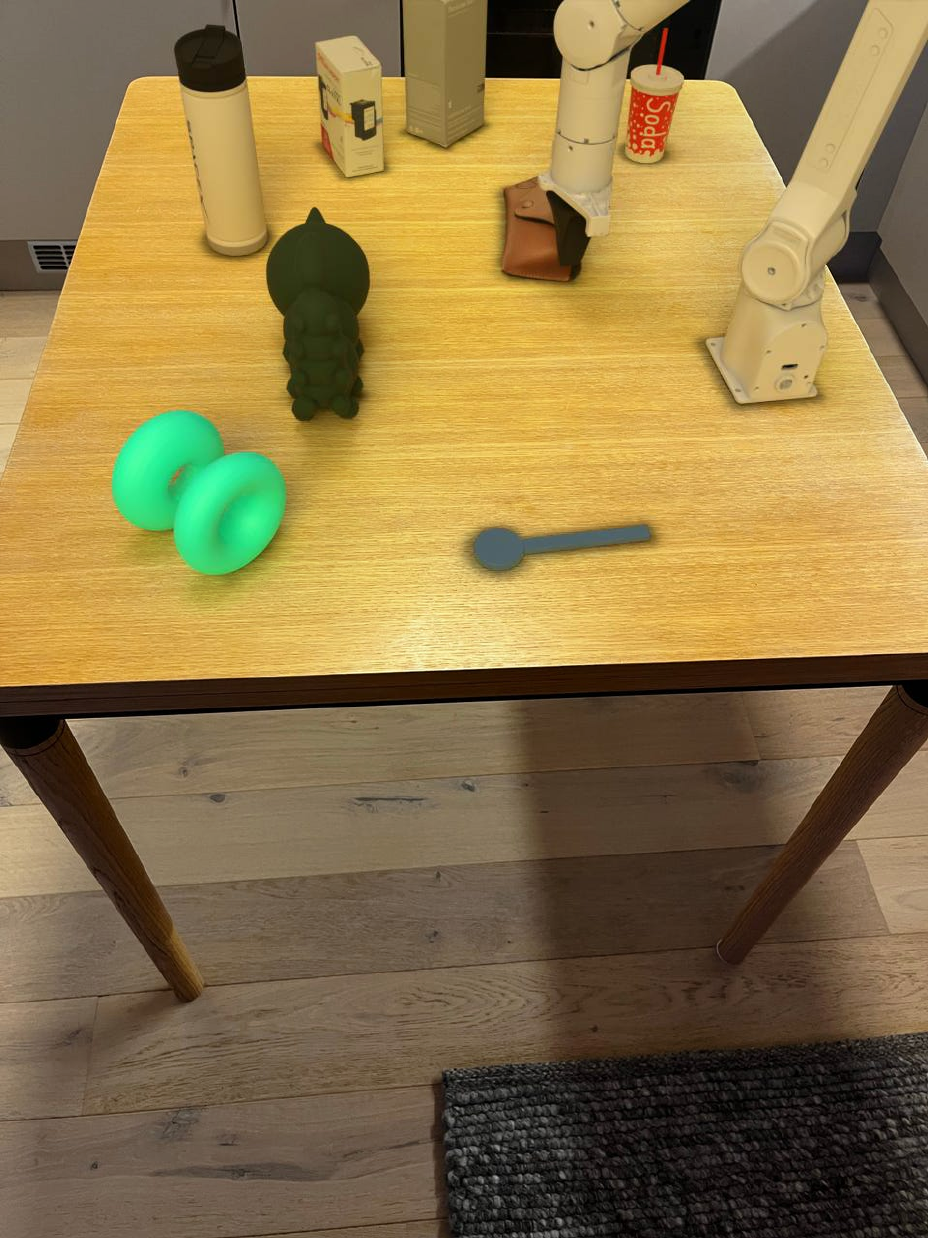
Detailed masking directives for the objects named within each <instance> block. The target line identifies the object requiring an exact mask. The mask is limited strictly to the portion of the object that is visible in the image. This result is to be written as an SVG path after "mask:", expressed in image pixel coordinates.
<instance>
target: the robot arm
mask: <svg viewBox="0 0 928 1238" xmlns="http://www.w3.org/2000/svg"><path fill="white" fill-rule="evenodd" d="M690 1H691V0H563V1H562V2H561V3H560V5H559V6H558V8H557V10H556V12H555V15H554V19H553V37H554V41H555V44H556V47H557V49H558V51H559V52H560V54H561V56H562V62H561V72H560V81H559V88H558V100H557V107H556V108H557V109H556V117H555V118H556V119H555V128H554V129H555V130H554V139H552V143H551V150H550V152H551V153H550V160H551V161H550V165H549V169H548V171H547V172H540V173H539V174H537V176H538V184H539V186H540V188H541V189H542V190H548V191H547V192H546V197H547V199H548V201H549V204H550V207H551V211H552V215H553V219H554V224H555V232H556V243H557V253H558V260H559V263H560V266H572V265H579V264H580V263H582V260H583V259H584V256H585V253H586V252H587V249H588V247H589V244H590V242H591V239H592V237H604V236H609V233H610V226H611V222H612V215H611V211H610V209H611V208H610V207H611V205H610V202H611V195H612V188H613V181H614V177H613V168H614V162H615V155H616V147H617V143H618V142H617V141H618V136H619V129H620V122H621V115H622V109H623V108H622V107H623V103H624V95H625V90H626V83H627V75H628V69H629V64H630V57H631V52H632V49H633V48H634V46H635V45H636V44H637V43H638V42H639V41H640V40H641V39H642V37H643V36H644V34H646V33H648V32H649V31H650V30H652V29H653V28H654V27H656V26H657V25H659V24H660V23H661V22H663V21H664V20H665V19H667V18H668V17H670V16H671V15H672V14H673V13H675V12H676V11H677V10H679V9H680V8H682V7H683V6H685V5H686V4H687V3H689V2H690ZM927 42H928V0H868V1H867V4H866V6H865V9H864V11H863V13H862V16H861V18H860V19H859V23H858V25H857V27H856V28H855V32H854V34H853V36H852V38H851V41H850V43H849V44H848V48H847V50H846V52H845V54H844V57H843V59H842V62H841V64H840V66H839V68H838V71H837V73H836V75H835V78H834V79H833V82H832V85H831V87H830V89H829V91H828V94H827V96H826V99H825V101H824V103H823V105H822V108H821V110H820V111H819V112H820V113H819V115H818V117H817V120H816V121H815V124H814V127H813V128H812V131H811V133H810V135H809V138H808V140H807V142H806V145H805V147H804V150H803V151H802V154H801V157H800V158H799V161H798V163H797V165H796V168H795V170H794V171H793V175H792V177H791V179H790V181H789V183H788V185H786V187H785V189H784V190H783V192H782V194H781V195H780V197H779V199H778V200H777V201H776V203H775V204H774V206H773V207H772V209H771V211H770V212H769V214H768V216H767V218H766V221H765V224H764V225H763V227H762V228H761V230H760V231H759V232H758V233H757V234H755V235H754V236H753V237H752V238H750V239H748V241H747V242H746V244H744V246H743V247H742V249H741V251H740V254H739V258H738V264H737V266H738V267H737V269H738V274H739V278H740V284H739V287H738V290H737V295H736V297H735V301H734V305H733V309H732V311H731V314H730V318H729V322H728V326H727V329H726V333H725V336H719V337H709V338H706V339H705V344H704V345H705V346H706V348H707V350H708V351H709V353H710V356H711V357H712V359H713V361H714V363H715V365H716V367H717V369H718V371H719V372H720V374H721V375H722V378H723V380H724V381H725V383H726V385H727V387H728V389H729V391H730V393H731V394H732V397H733V399H734V400H735V402H736V403H738V404H742V405H743V404H753V403H762V402H773V401H782V400H783V401H784V400H794V399H795V400H796V399H804V398H805V399H806V398H814V397H816V396H817V395H818V389H817V387H816V385H815V384H814V381H815V378H816V375H817V373H818V370H819V368H820V365H821V362H822V360H823V357H824V355H825V353H826V349H827V347H828V343H829V335H828V330H827V329H826V326H825V324H824V321H823V317H822V300H823V295H824V292H825V289H826V286H827V284H826V280H827V275H826V265H827V264H828V263H829V261H830V260H831V259H832V258H833V257H835V256H837V254H838V253H839V252H840V251H841V250H842V249H843V248H844V247H845V244H846V243H847V241H848V238H849V235H850V213H851V209H852V206H853V204H854V202H855V200H856V198H857V197H858V192H857V190H856V187H857V186H856V185H857V183H858V182H859V180H860V178H861V175H862V173H863V171H864V169H865V168H866V166H867V163H868V161H869V159H870V157H871V155H872V153H873V151H874V149H875V147H876V145H877V143H878V141H879V139H880V137H881V135H882V133H883V131H884V129H885V127H886V125H887V122H888V120H889V119H890V117H891V115H892V112H893V111H894V108H895V106H896V104H897V102H898V100H899V98H900V96H901V94H902V92H903V90H904V87H905V86H906V84H907V82H908V80H909V78H910V76H911V74H912V72H913V70H914V68H915V66H916V64H917V62H918V59H919V58H920V56H921V53H922V52H923V49H924V47H925V46H926V43H927Z"/></svg>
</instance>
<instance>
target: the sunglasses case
mask: <svg viewBox="0 0 928 1238" xmlns="http://www.w3.org/2000/svg"><path fill="white" fill-rule="evenodd" d="M547 191H548V190H542V189H541V188H540V186H539V184H538V175H537V176H533V177H531V178H529V179H526V180H523V181H519V182H518V183H516V184H513V185H510V186H505V187H504V188H503V191H502V192H503V196H504V200H505V241H504V247H503V248H504V249H503V255H502V260H501V268H500V269H501V272H503V273H505V274H506V275H508V276H509V275H510V276H513V277H519V278H524V279H530V280H539V281H549V282H550V281H551V282H565V283H568V282H570V281H572V280H575V278H577V277H578V275H580V273H581V271H582V265H583V264H582V262H581V263H580V264H579V265H572V266H560V263H559V260H558V253H557V243H556V232H555V224H554V219H553V215H552V211H551V207H550V204H549V201H548V199H547V197H546V192H547Z"/></svg>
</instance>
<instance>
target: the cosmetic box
mask: <svg viewBox="0 0 928 1238" xmlns="http://www.w3.org/2000/svg"><path fill="white" fill-rule="evenodd" d="M402 19H403V21H402V22H403V25H402V26H403V53H404V55H403V56H404V91H405V93H404V94H405V123H406V124H405V125H406V127H405V129H406V132H408V133H410V134H411V135H415V136H417V137H420V138H423V139H425V140H428V141H430V142H432V143H435V144H437V145H439V146H442V147H444V148H448V147H450V146H451V145H453V144H454V143H455V142H457V141H458V140H461V139H462V138H464V137H465V136H467V135H469V134H470V133H472V132H474V131H475V130H477V129H478V128H480V127H483V125H484V123H485V96H486V95H485V93H486V64H487V63H486V61H487V60H486V59H487V58H486V57H487V30H488V29H487V26H488V25H487V24H488V0H402Z"/></svg>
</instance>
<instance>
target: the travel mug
mask: <svg viewBox="0 0 928 1238" xmlns="http://www.w3.org/2000/svg"><path fill="white" fill-rule="evenodd" d="M173 52H174V53H173V54H174V59H175V64H176V69H177V76H178V85H179V88H180V95H181V101H182V107H183V111H184V118H185V123H186V128H187V135H188V139H189V146H190V150H191V151H190V152H191V157H192V162H193V167H194V173H195V178H196V184H197V189H198V194H199V200H200V201H199V202H200V205H201V212H202V217H203V222H204V228H205V233H206V239H207V243H208V246H209V247H210V248H211V249H212V250H213V251H215V252H216V253H218V254H221V255H225V256H229V257H243V256H248V255H251V254H254V253H256V252H258V251H259V250H261V249H262V248H263V247H265V245H266V244H267V241H268V231H267V224H266V217H265V216H266V215H265V209H264V208H265V207H264V201H263V193H262V184H261V176H260V169H259V162H258V154H257V146H256V138H255V130H254V123H253V116H252V115H253V114H252V107H251V100H250V92H249V84H248V76H247V73H246V67H245V59H244V58H245V57H244V51H243V42H242V41H241V39H240V37H238V36H237V34H235V33H234V32H231V31H229V30H226V26H225V25H220V24H209V23H208V24H205V26H204V28H200V29H195V30H191V31H189V32H187V33H185V34H183V35H182V36H180V37H179V38H178V39H177V41H176V42H175V43H174V47H173Z"/></svg>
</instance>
